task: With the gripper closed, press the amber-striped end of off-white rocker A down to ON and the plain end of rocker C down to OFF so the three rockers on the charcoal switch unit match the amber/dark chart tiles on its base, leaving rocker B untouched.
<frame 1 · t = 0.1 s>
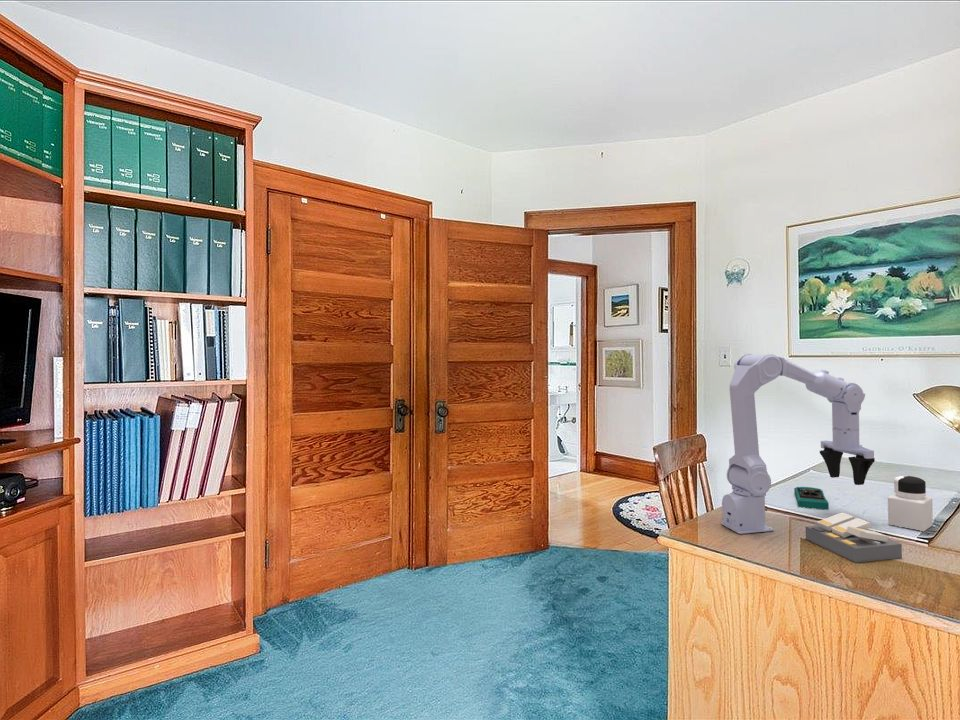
hand: (846, 480, 136), 10 cm above the table, fingers open, 7 cm apart
medicine bottle: (910, 526, 131), on the table
rocker B: (850, 527, 118), point 5 cm above the table, hinge at -14.0°
rocker A: (867, 534, 114), point 5 cm above the table, hinge at 14.0°
digital multimeter: (810, 503, 152), on the table
rocker C: (835, 521, 122), point 5 cm above the table, hinge at -14.0°
switch unit: (851, 547, 118), on the table
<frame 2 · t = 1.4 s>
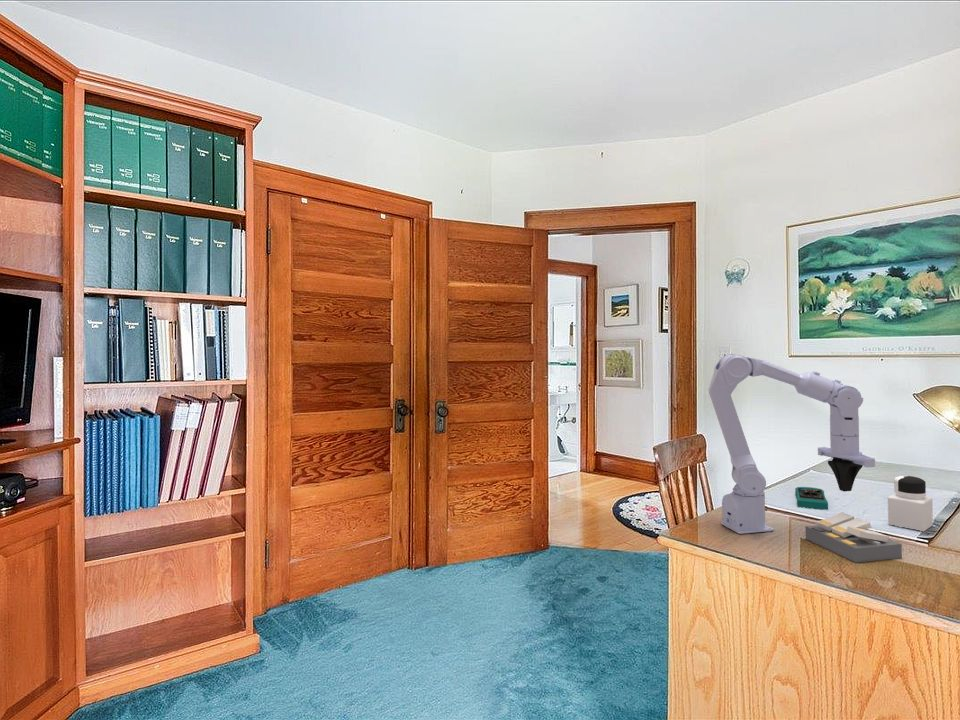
hand: (845, 490, 127), 10 cm above the table, fingers closed
nothing on the table moved.
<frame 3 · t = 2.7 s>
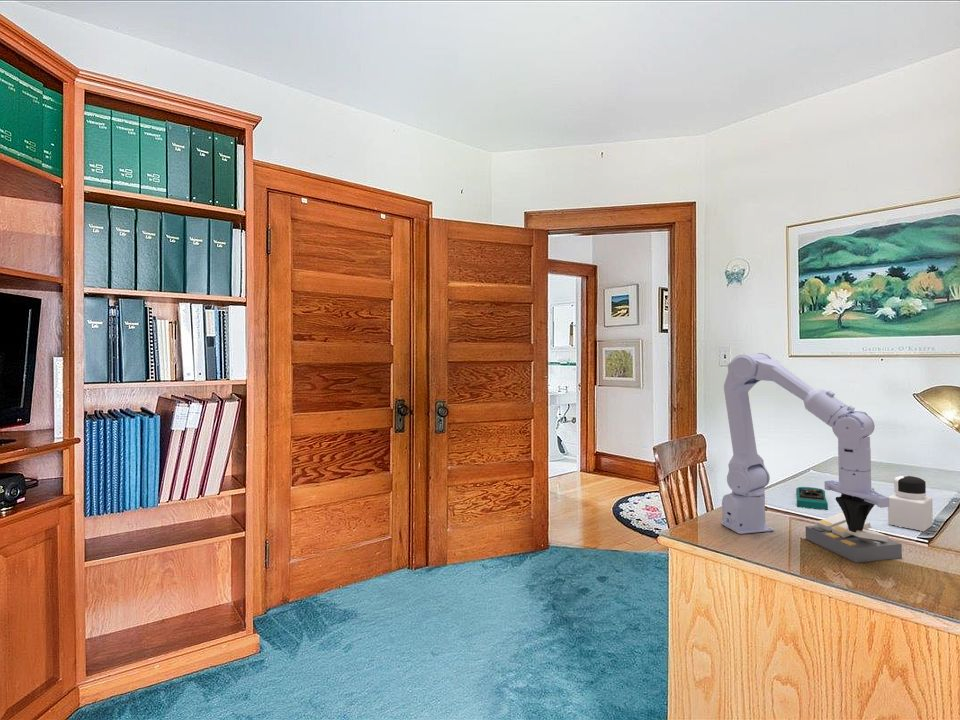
hand: (855, 531, 113), 6 cm above the table, fingers closed, pressing on rocker A
rocker A: (867, 534, 114), point 5 cm above the table, hinge at 13.1°, touching gripper
everything else where it was.
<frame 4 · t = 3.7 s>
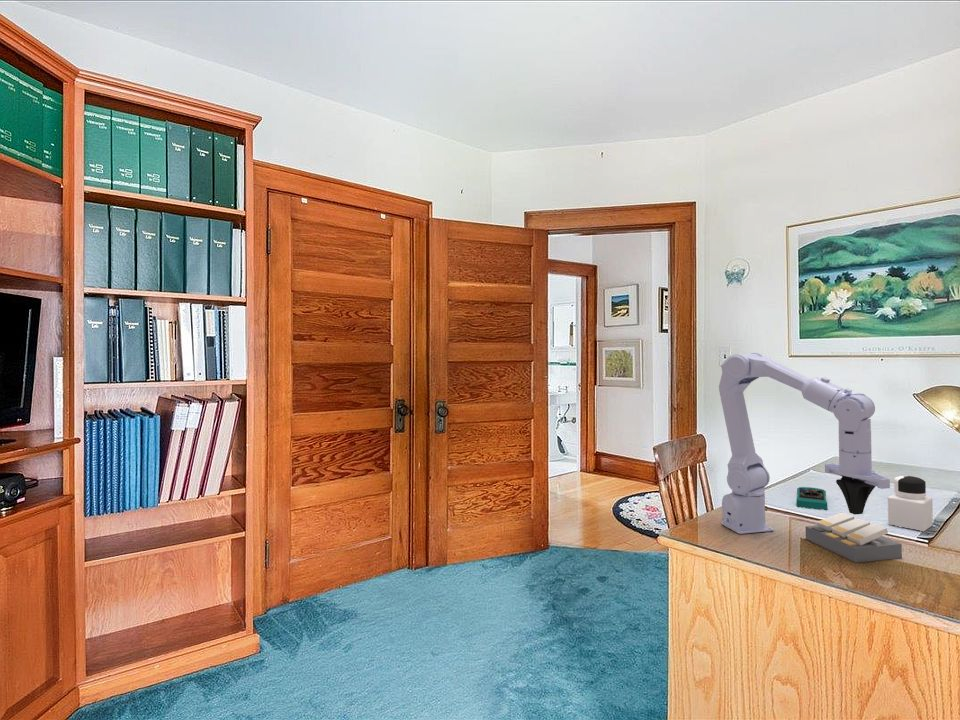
hand: (856, 513, 113), 9 cm above the table, fingers closed
rocker A: (867, 534, 114), point 5 cm above the table, hinge at -17.6°, touching switch unit
everything else where it was.
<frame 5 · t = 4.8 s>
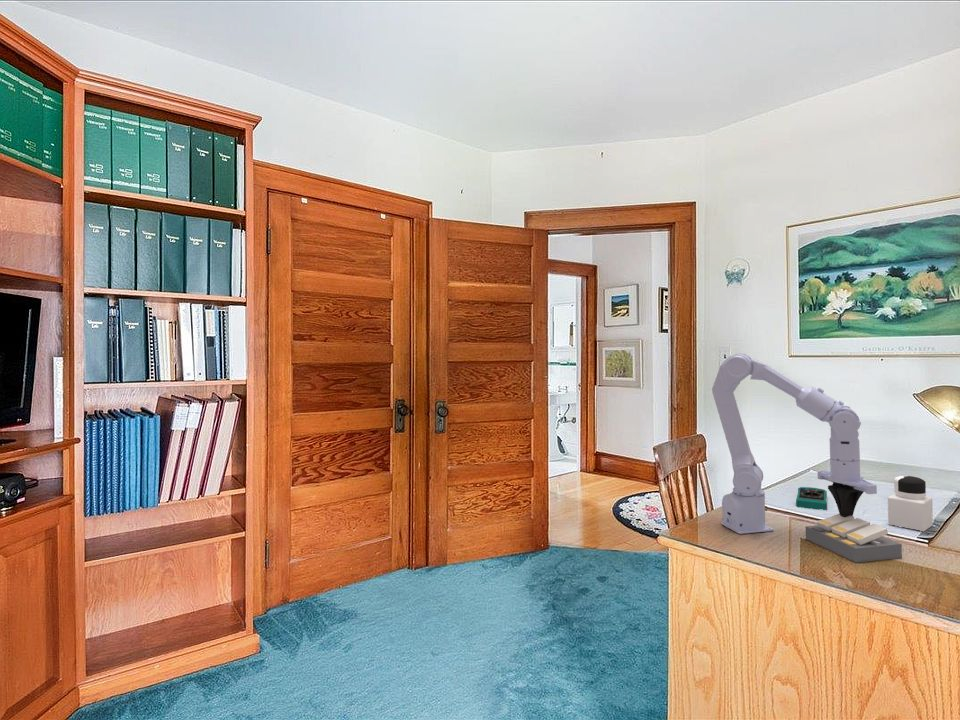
hand: (846, 516, 122), 6 cm above the table, fingers closed, pressing on rocker C
rocker A: (867, 534, 114), point 5 cm above the table, hinge at -15.1°
rocker C: (835, 521, 122), point 5 cm above the table, hinge at -13.4°, touching gripper
everything else where it was.
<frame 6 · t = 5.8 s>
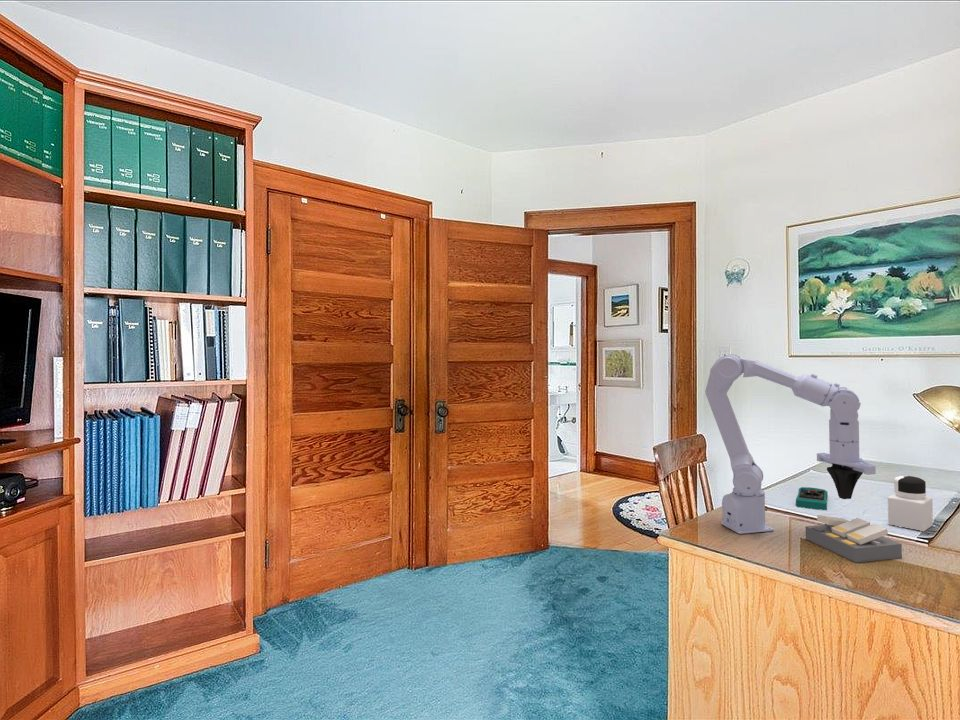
hand: (845, 498, 122), 10 cm above the table, fingers closed
rocker A: (867, 534, 114), point 5 cm above the table, hinge at -14.4°
rocker C: (835, 521, 122), point 5 cm above the table, hinge at 11.7°
everything else where it was.
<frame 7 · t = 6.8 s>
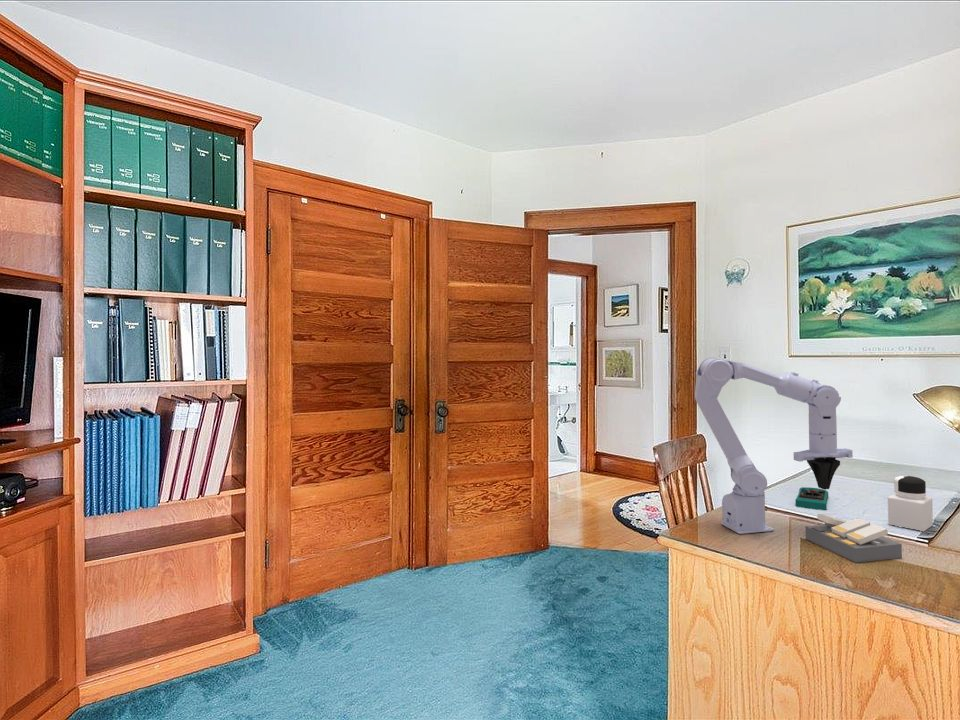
hand: (823, 488, 129), 10 cm above the table, fingers closed
rocker C: (835, 521, 122), point 5 cm above the table, hinge at 17.3°, touching switch unit
everything else where it was.
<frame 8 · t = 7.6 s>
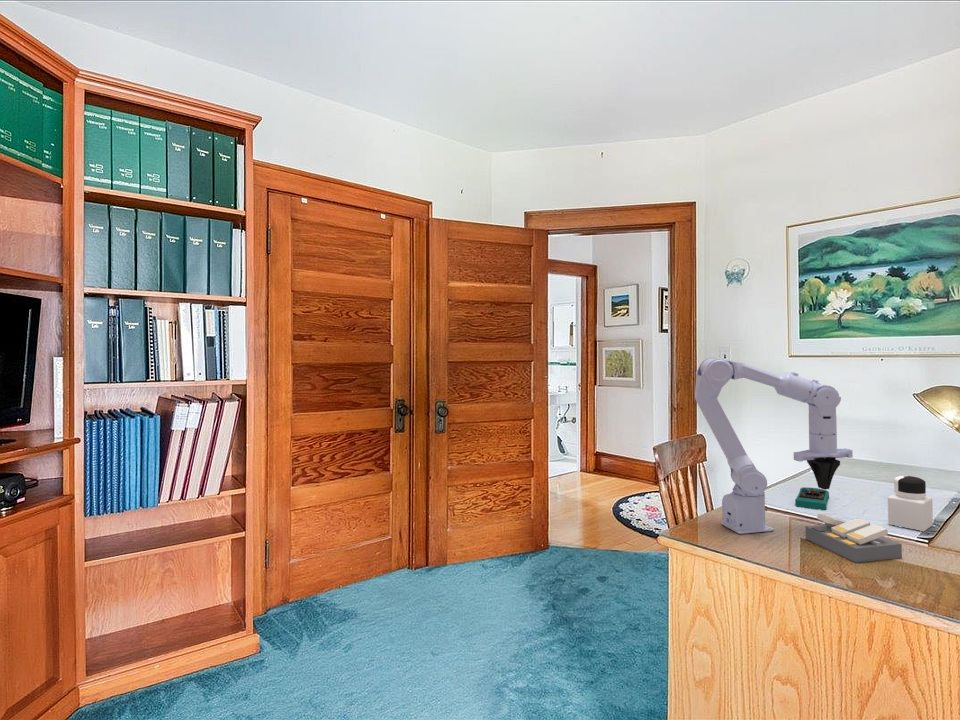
hand: (823, 488, 129), 10 cm above the table, fingers closed
rocker C: (835, 521, 122), point 5 cm above the table, hinge at 17.0°
everything else where it was.
at the end: rocker A at -14° (first picture: +14°); rocker C at +17° (first picture: -14°); rocker B at -14° (first picture: -14°) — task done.
